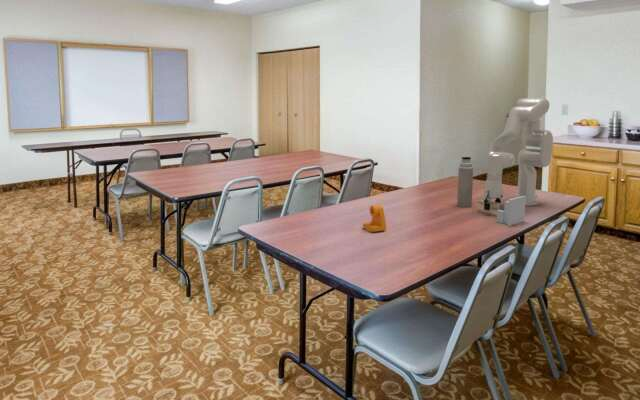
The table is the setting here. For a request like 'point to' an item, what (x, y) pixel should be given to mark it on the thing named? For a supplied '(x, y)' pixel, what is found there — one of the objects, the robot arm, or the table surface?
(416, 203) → the table surface
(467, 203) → the thermos bottle
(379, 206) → the bracket
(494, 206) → the tan and gray block
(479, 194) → the table surface
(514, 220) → the gray forked clamp
